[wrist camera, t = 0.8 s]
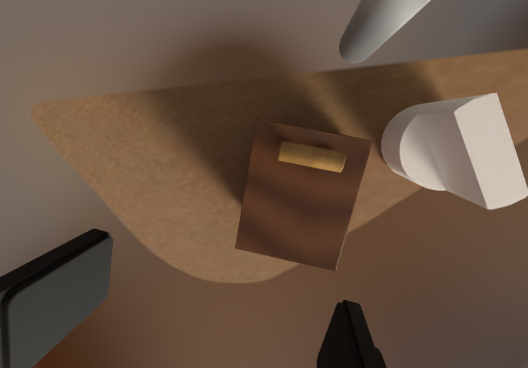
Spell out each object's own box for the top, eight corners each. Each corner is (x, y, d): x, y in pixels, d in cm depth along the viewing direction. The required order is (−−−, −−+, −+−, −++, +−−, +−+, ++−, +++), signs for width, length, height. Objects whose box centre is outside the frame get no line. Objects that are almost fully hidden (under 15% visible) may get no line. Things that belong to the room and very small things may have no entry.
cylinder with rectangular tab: (470, 159, 31) (574, 181, 19) (396, 189, 33) (450, 226, 21) (445, 89, 29) (542, 68, 18) (369, 125, 31) (411, 127, 20)
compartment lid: (257, 119, 24) (247, 118, 19) (370, 140, 23) (390, 144, 18) (236, 245, 28) (223, 272, 23) (334, 267, 27) (343, 300, 22)
